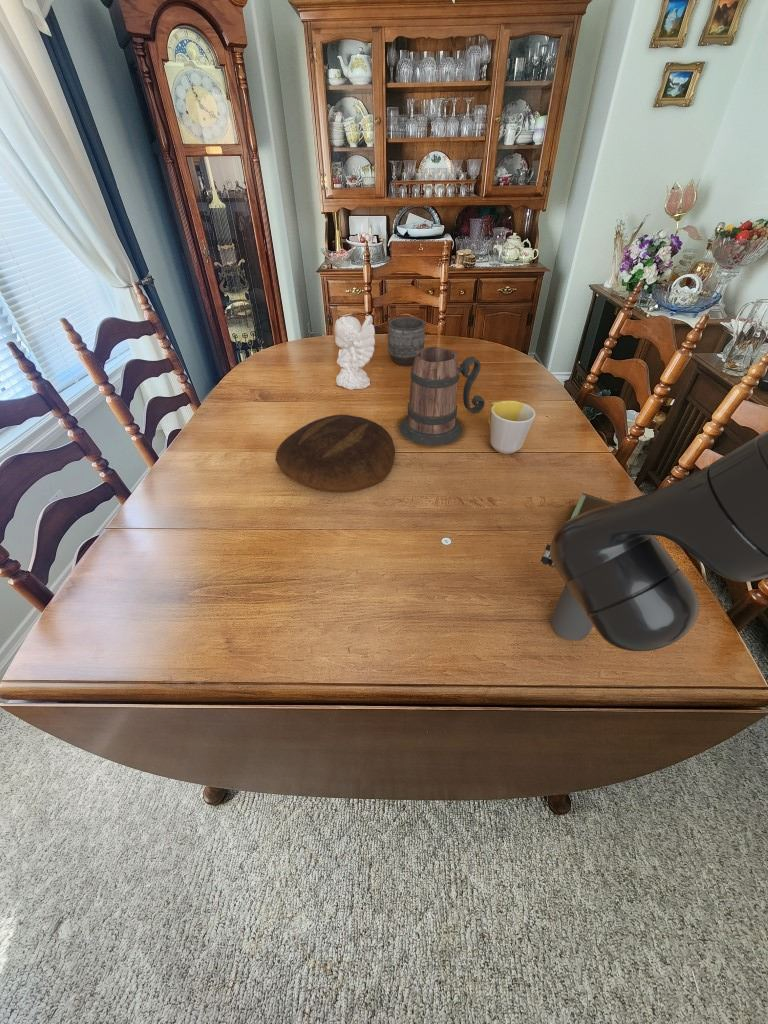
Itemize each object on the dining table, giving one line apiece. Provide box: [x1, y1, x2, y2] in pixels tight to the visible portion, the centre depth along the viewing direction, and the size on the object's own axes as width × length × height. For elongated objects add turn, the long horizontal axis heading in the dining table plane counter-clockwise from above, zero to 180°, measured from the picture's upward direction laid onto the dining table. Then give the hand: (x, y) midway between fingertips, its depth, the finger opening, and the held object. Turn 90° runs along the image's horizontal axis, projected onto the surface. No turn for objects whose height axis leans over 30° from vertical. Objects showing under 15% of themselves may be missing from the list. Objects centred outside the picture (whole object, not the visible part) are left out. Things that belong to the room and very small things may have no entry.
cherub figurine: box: [334, 314, 376, 391], centre depth 130 cm, size 13×12×20 cm
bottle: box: [550, 583, 594, 642], centre depth 63 cm, size 6×6×15 cm
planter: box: [387, 316, 426, 367], centre depth 143 cm, size 12×12×13 cm
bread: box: [275, 414, 396, 493], centre depth 101 cm, size 28×27×9 cm
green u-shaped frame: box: [569, 492, 616, 520], centre depth 83 cm, size 12×12×4 cm
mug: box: [487, 400, 536, 455], centre depth 105 cm, size 14×10×10 cm
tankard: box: [399, 346, 486, 446], centre depth 109 cm, size 24×17×20 cm
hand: (593, 574), depth 62 cm, fingers closed on bottle, 5 cm apart
